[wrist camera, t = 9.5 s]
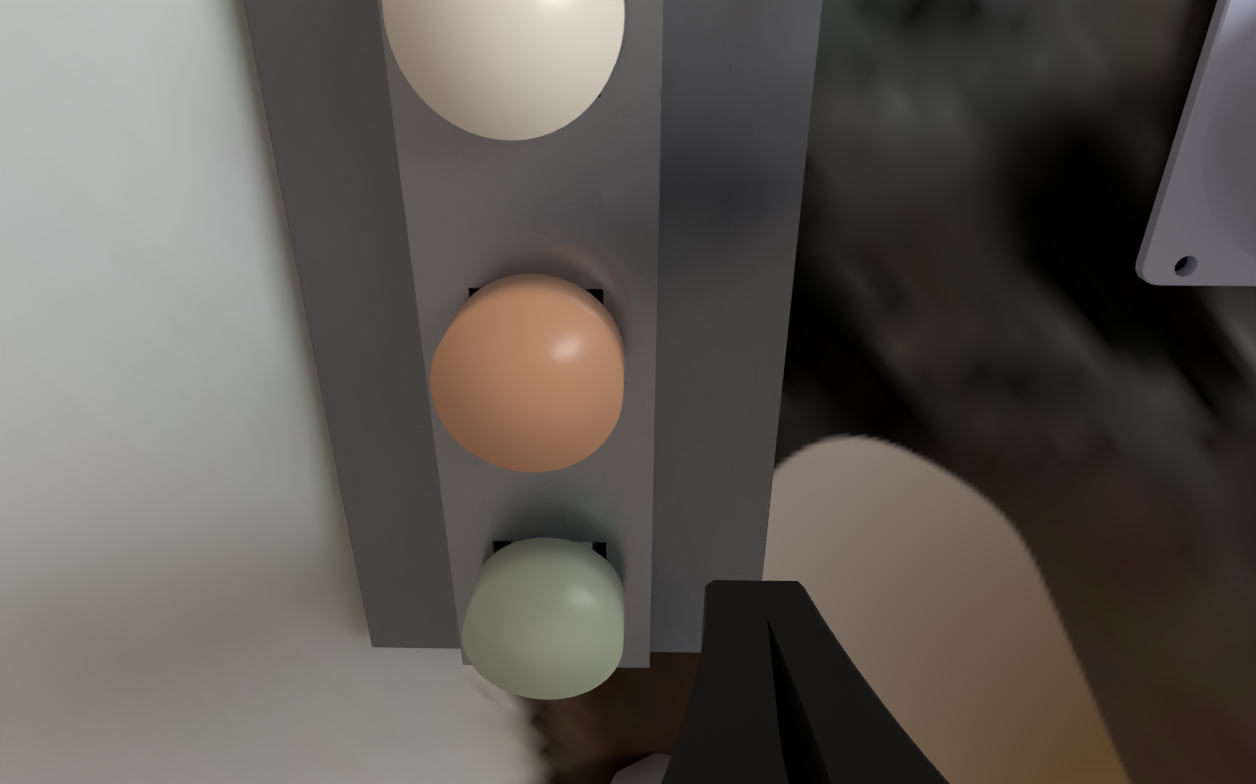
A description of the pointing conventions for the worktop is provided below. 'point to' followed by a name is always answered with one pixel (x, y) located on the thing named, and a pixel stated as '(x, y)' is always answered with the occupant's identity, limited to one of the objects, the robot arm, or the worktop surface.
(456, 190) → the switch panel
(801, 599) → the robot arm
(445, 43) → the cream knob
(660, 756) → the salt shaker
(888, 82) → the worktop surface
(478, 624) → the sage knob
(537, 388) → the terracotta knob
